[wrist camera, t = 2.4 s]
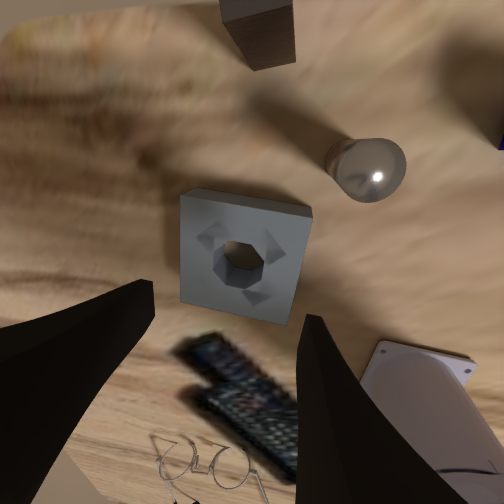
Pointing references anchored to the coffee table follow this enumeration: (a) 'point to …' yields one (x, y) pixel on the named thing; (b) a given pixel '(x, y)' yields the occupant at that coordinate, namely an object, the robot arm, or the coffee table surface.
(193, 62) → the coffee table surface
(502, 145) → the blue arched block
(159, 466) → the eyeglasses
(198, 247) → the socket block
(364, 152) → the round bit
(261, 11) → the square bit
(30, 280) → the coffee table surface
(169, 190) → the coffee table surface
